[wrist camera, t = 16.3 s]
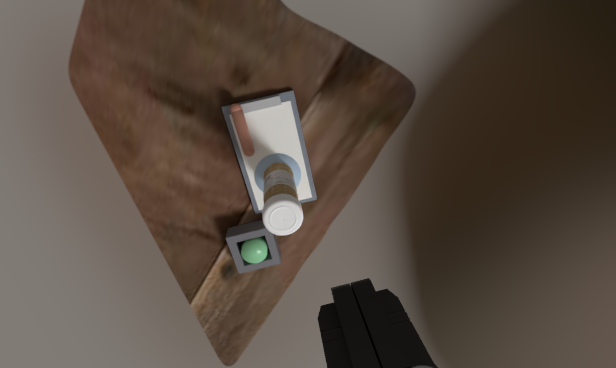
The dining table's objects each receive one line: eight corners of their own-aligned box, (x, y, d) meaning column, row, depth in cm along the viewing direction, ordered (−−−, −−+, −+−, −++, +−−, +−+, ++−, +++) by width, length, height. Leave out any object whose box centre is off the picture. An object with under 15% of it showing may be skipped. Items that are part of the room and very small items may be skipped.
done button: (239, 234, 49) (237, 245, 46) (263, 229, 49) (263, 239, 47) (246, 254, 51) (245, 266, 48) (269, 248, 51) (270, 259, 48)
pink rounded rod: (228, 103, 40) (227, 106, 39) (240, 100, 41) (239, 103, 39) (245, 155, 44) (244, 159, 43) (256, 152, 44) (256, 156, 43)
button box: (227, 227, 49) (225, 238, 46) (270, 217, 49) (270, 227, 46) (240, 262, 52) (239, 273, 49) (280, 252, 52) (281, 263, 49)
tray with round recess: (221, 106, 42) (220, 107, 41) (292, 90, 42) (293, 90, 41) (255, 212, 49) (255, 215, 48) (316, 197, 49) (317, 200, 48)
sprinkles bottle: (279, 194, 47) (284, 244, 35) (256, 176, 45) (253, 221, 33) (299, 174, 46) (312, 217, 34) (277, 154, 45) (281, 192, 32)
